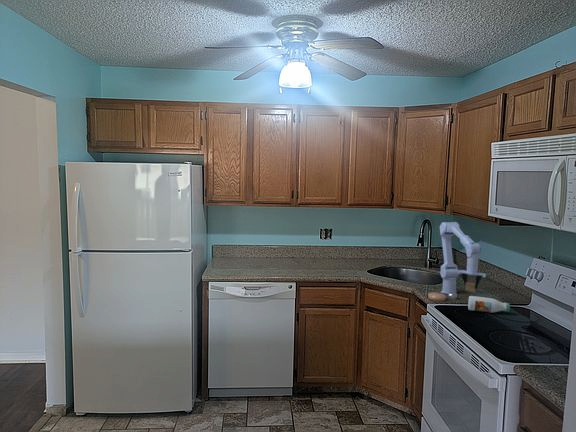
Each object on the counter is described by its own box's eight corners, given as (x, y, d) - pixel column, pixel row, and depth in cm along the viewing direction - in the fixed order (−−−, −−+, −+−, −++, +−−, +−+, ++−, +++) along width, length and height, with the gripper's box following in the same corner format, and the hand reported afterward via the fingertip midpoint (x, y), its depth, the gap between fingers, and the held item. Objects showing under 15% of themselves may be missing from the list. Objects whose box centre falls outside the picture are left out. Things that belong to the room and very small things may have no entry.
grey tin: (449, 296, 256) (449, 291, 256) (457, 298, 254) (457, 293, 253) (446, 298, 252) (447, 293, 252) (455, 300, 250) (455, 295, 249)
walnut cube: (467, 288, 247) (467, 280, 247) (476, 290, 245) (476, 281, 244) (465, 290, 243) (465, 282, 243) (474, 292, 240) (475, 283, 240)
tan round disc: (430, 295, 258) (431, 291, 258) (447, 298, 253) (448, 294, 252) (425, 299, 250) (426, 295, 250) (443, 302, 244) (443, 298, 244)
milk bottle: (469, 294, 230) (510, 298, 223) (468, 297, 236) (507, 301, 230) (469, 308, 227) (510, 313, 221) (467, 311, 234) (507, 315, 228)
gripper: (457, 264, 243) (456, 287, 245) (484, 267, 235) (483, 291, 236) (460, 261, 249) (459, 284, 250) (487, 265, 241) (485, 288, 242)
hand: (471, 287), depth 244 cm, fingers closed on walnut cube, 5 cm apart
